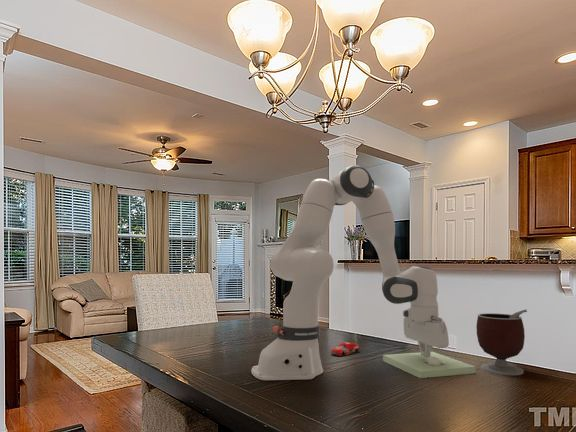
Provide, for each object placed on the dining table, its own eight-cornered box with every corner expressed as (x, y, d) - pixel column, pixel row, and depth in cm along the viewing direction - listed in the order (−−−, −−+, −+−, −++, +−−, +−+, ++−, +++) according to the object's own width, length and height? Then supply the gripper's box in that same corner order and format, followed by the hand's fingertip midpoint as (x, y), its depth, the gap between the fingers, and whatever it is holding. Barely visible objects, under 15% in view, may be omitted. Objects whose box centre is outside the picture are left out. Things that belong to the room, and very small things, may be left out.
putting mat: (420, 378, 126) (419, 371, 126) (383, 360, 147) (382, 355, 147) (475, 373, 132) (475, 366, 132) (432, 357, 153) (432, 351, 153)
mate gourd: (469, 368, 137) (467, 306, 139) (491, 362, 145) (488, 303, 147) (519, 380, 125) (516, 311, 127) (539, 372, 133) (536, 307, 135)
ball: (433, 370, 133) (431, 356, 134) (426, 370, 137) (424, 357, 138) (444, 369, 134) (442, 356, 135) (437, 369, 137) (435, 356, 139)
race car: (339, 358, 152) (339, 347, 152) (328, 355, 156) (328, 344, 156) (362, 352, 161) (362, 342, 161) (351, 350, 165) (351, 339, 165)
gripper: (452, 318, 133) (454, 363, 131) (415, 310, 152) (416, 349, 151) (435, 319, 131) (437, 364, 129) (399, 310, 150) (400, 350, 149)
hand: (425, 356), depth 140 cm, fingers closed
